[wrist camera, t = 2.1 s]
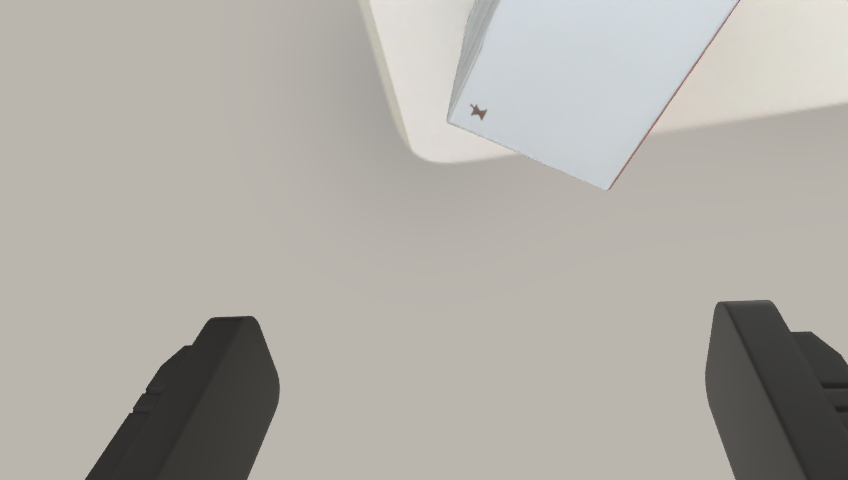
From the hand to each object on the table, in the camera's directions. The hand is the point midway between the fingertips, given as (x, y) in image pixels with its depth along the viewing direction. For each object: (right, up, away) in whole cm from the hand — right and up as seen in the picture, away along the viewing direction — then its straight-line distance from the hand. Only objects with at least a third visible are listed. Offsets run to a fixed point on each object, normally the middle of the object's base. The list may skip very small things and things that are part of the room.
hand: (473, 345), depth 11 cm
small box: (+6, +15, +19) cm, 24 cm away
